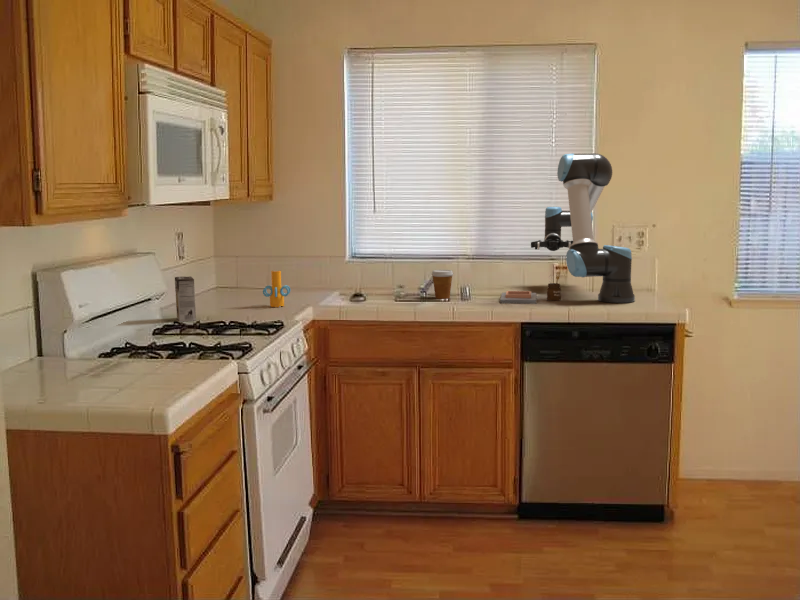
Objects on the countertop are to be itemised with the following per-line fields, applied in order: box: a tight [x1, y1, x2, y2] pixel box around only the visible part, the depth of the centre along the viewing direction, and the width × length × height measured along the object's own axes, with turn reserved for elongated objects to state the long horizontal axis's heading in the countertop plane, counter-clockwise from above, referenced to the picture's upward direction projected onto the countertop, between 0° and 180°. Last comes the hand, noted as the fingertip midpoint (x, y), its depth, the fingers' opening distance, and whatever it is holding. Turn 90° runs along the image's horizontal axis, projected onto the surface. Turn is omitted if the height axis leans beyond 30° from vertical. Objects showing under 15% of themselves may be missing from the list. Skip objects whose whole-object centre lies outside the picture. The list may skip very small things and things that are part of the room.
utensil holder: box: [546, 271, 562, 302], centre depth 373 cm, size 6×6×12 cm
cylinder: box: [262, 269, 291, 308], centre depth 364 cm, size 12×10×15 cm
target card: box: [499, 290, 537, 305], centre depth 376 cm, size 15×22×3 cm
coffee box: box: [174, 276, 197, 322], centre depth 334 cm, size 9×6×16 cm
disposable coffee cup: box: [431, 269, 454, 300], centre depth 384 cm, size 10×10×12 cm
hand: (554, 246), depth 380 cm, fingers open, 13 cm apart
